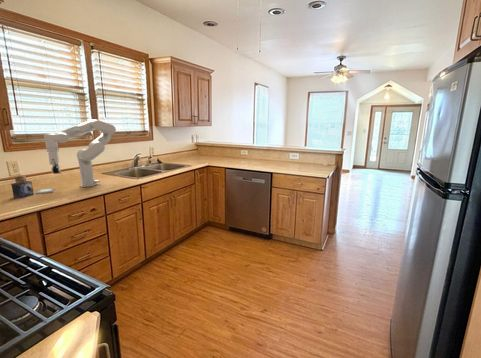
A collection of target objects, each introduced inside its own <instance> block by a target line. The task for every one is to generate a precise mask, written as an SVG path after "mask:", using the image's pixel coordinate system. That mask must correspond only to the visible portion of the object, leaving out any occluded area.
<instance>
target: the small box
mask: <svg viewBox="0 0 481 358" xmlns="http://www.w3.org/2000/svg"><path fill="white" fill-rule="evenodd" d="M32 182H33V181H29V180H26V182H25V183H18V184H16V182H14V183H11V184H10V186H11V188H12V189H11V190H12V195H13V198H15V199H22V198H25V197H29V196H33V195H35V193H34V188H33V187H34V186H33V183H32Z"/></svg>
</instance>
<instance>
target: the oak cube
mask: <svg viewBox="0 0 481 358" xmlns="http://www.w3.org/2000/svg"><path fill="white" fill-rule="evenodd" d="M57 168H58V172H59V173H53V166H52V167H51V168H50V169H51V175H52V174H53V175H55V174H56V175H57V174H58V175H59V174H61V173H62V170H61V166H60V165H59V166H57Z"/></svg>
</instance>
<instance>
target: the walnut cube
mask: <svg viewBox="0 0 481 358" xmlns="http://www.w3.org/2000/svg"><path fill="white" fill-rule="evenodd" d="M26 176H27V175H25V174H21V175H16V176H14V181H15V183H16V184H18V183H25V182H26V181H27V177H26Z"/></svg>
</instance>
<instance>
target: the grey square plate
mask: <svg viewBox="0 0 481 358" xmlns="http://www.w3.org/2000/svg"><path fill="white" fill-rule="evenodd" d="M54 191H55V188H43V189H42V188H41V189H38V191H37V192H36V195H41V194H50V193H53V192H54Z"/></svg>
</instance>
